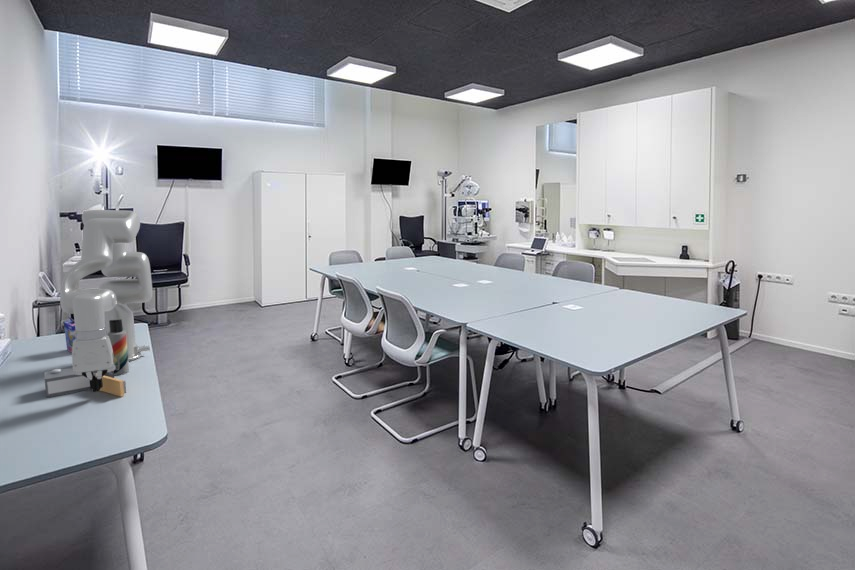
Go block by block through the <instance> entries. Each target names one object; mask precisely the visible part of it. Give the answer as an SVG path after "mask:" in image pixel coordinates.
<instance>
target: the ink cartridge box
mask: <svg viewBox="0 0 855 570" xmlns="http://www.w3.org/2000/svg"><path fill="white" fill-rule="evenodd" d="M68 318H69V320H67V321H63V327H64V336H65V342H66V345H65V346H66V350H67V351H68V352H70V353H72V346H73V340H75V339H76V338H75V336H70V332H73V331H75V321H74V319H73V318H72V317H70V316H68Z"/></svg>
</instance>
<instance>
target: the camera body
mask: <svg viewBox="0 0 855 570" xmlns="http://www.w3.org/2000/svg"><path fill="white" fill-rule="evenodd" d="M43 373H44V386H45V393H46V398H50V397H56V396H62V395H63V396H64V395H67V394H73V393H77V392H83V391H88V390H91V389H90V380H88V378H86V377H84V376H83V375H74V371H73V367H69V368H68V367H67V368H55V369H51V370H48V371H44V372H43ZM93 373H97V371H93ZM104 376H108V377H112V378H115V375H114V371H111V372H107V373H106V374H105V375H104Z"/></svg>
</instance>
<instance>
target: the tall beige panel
mask: <svg viewBox="0 0 855 570" xmlns="http://www.w3.org/2000/svg"><path fill="white" fill-rule="evenodd" d="M94 375H95V377H97V373H94ZM102 383H103V387H102V388H101V389H100V391H101V392H105V393H108V394H110V395H114V396H117V397H124V396H125V394H127V385H126V384H127V383H126V380H122V379H119V378H115V377H114V378H112V377H108V376H103V377H102ZM100 391H99V392H100Z"/></svg>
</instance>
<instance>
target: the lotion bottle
mask: <svg viewBox="0 0 855 570" xmlns="http://www.w3.org/2000/svg"><path fill="white" fill-rule="evenodd" d="M109 326H110V332H109V333H107V336H109V338H110V341H111V345H112V349H113V355H114V365H115V367H116V368H115V370H114V376H121V374H122V375H125V374H127V372H128V373H129V372H130V364H129V362H130V361H128V349H127V337H126V331H123V326H122V319H119V320H109Z"/></svg>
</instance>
